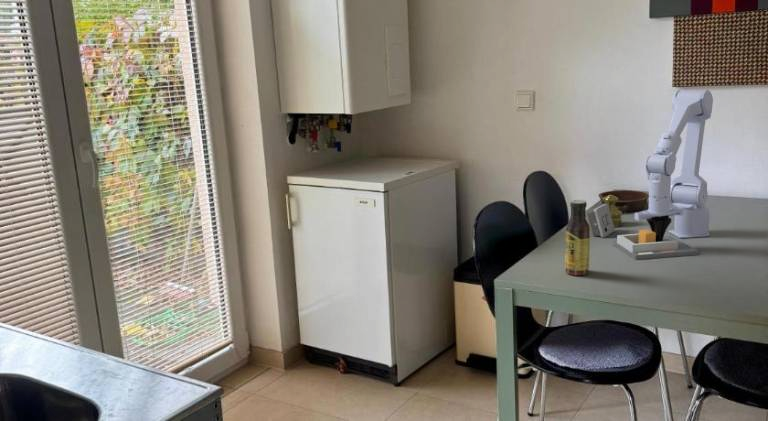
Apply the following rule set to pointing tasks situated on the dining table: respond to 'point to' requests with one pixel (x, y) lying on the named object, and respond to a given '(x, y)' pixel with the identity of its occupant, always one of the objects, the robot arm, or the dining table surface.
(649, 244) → the grey tray
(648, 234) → the block
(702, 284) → the dining table surface
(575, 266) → the sauce bottle
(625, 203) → the dish
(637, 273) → the dining table surface
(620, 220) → the salt shaker
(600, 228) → the electrical switch
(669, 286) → the dining table surface
